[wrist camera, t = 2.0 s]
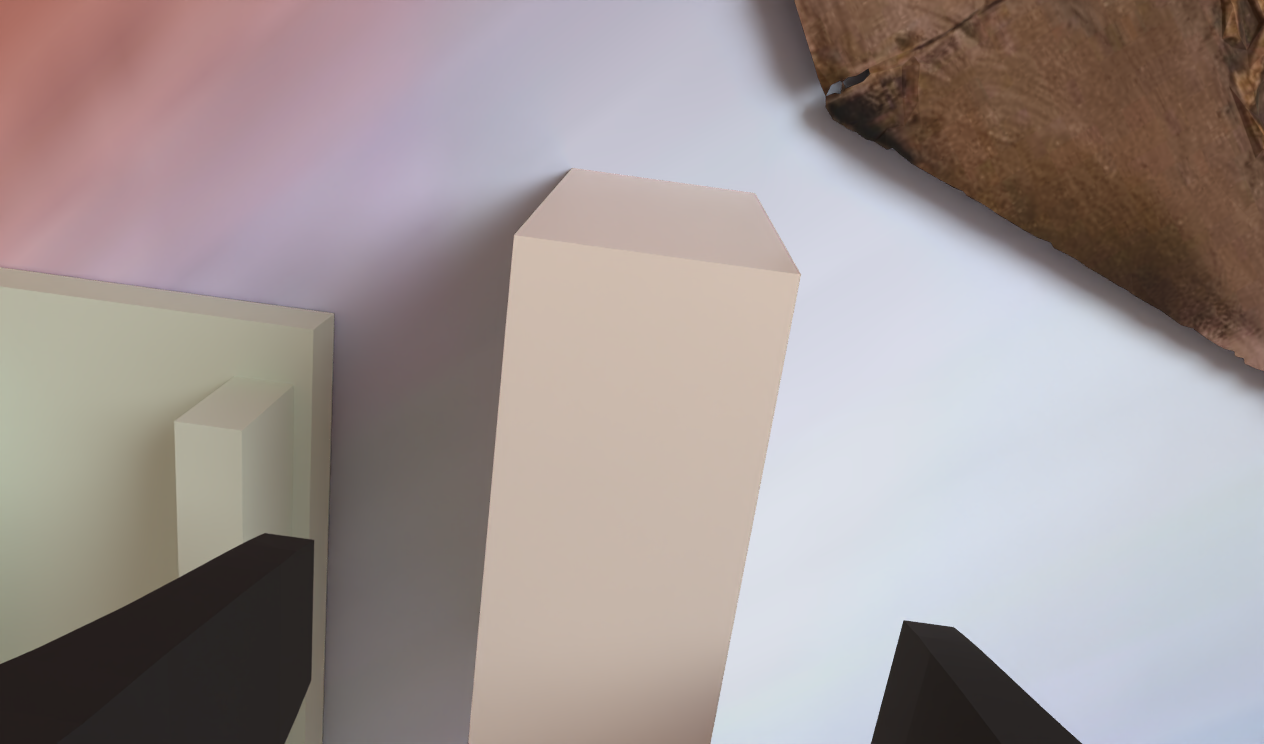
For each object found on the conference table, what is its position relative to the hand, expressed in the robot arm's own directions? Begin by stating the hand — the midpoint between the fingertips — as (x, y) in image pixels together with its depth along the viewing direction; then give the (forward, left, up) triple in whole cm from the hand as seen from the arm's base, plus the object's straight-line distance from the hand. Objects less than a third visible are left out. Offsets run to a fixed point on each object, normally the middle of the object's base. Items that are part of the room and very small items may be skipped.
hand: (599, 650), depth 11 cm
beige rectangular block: (0, 0, -6) cm, 6 cm away
